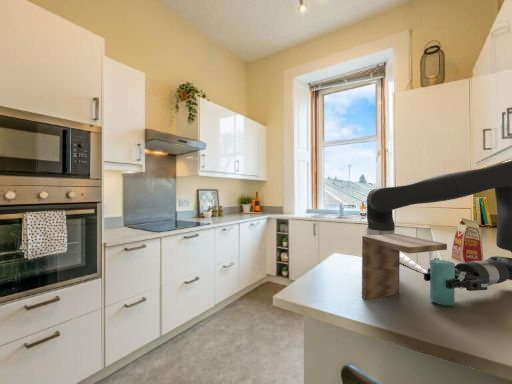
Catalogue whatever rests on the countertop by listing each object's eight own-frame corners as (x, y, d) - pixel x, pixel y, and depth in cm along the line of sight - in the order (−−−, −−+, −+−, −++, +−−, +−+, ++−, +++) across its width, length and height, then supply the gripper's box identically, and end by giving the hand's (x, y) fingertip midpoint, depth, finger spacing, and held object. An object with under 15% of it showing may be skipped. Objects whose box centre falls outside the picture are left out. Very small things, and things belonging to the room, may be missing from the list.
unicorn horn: (421, 277, 93) (421, 265, 93) (390, 260, 117) (389, 249, 117) (434, 278, 93) (434, 265, 93) (400, 260, 117) (400, 249, 117)
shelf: (395, 292, 79) (395, 233, 79) (446, 315, 65) (446, 243, 64) (361, 297, 75) (362, 235, 75) (408, 323, 60) (408, 247, 60)
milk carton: (462, 264, 109) (463, 218, 109) (450, 258, 118) (450, 216, 118) (486, 265, 108) (487, 219, 108) (471, 259, 117) (472, 216, 117)
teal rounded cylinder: (433, 303, 70) (433, 263, 70) (427, 295, 75) (427, 258, 75) (457, 306, 68) (458, 266, 68) (450, 298, 73) (450, 260, 73)
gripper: (450, 255, 83) (412, 260, 77) (506, 269, 69) (464, 275, 63) (450, 278, 83) (412, 284, 77) (505, 296, 69) (463, 305, 64)
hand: (435, 280), depth 70 cm, fingers closed on teal rounded cylinder, 5 cm apart
